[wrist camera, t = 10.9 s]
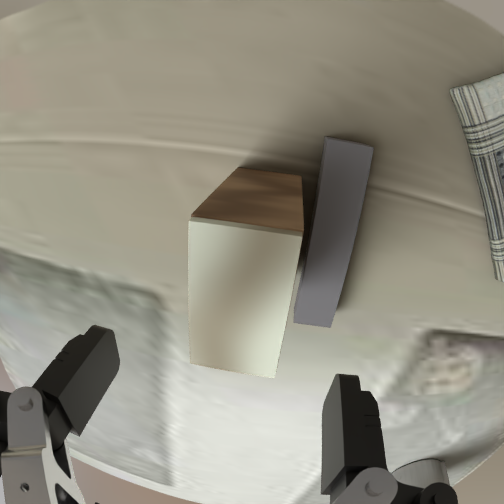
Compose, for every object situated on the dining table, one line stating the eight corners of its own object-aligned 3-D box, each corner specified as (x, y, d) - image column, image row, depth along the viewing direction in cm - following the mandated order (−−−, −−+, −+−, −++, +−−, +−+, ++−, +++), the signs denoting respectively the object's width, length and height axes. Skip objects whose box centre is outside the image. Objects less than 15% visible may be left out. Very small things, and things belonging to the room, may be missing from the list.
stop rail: (367, 144, 20) (373, 147, 18) (329, 313, 26) (330, 327, 24) (324, 136, 20) (327, 138, 18) (294, 308, 26) (293, 322, 25)
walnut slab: (301, 175, 22) (304, 234, 12) (285, 275, 25) (274, 379, 15) (237, 167, 22) (187, 218, 12) (229, 267, 26) (189, 364, 16)
